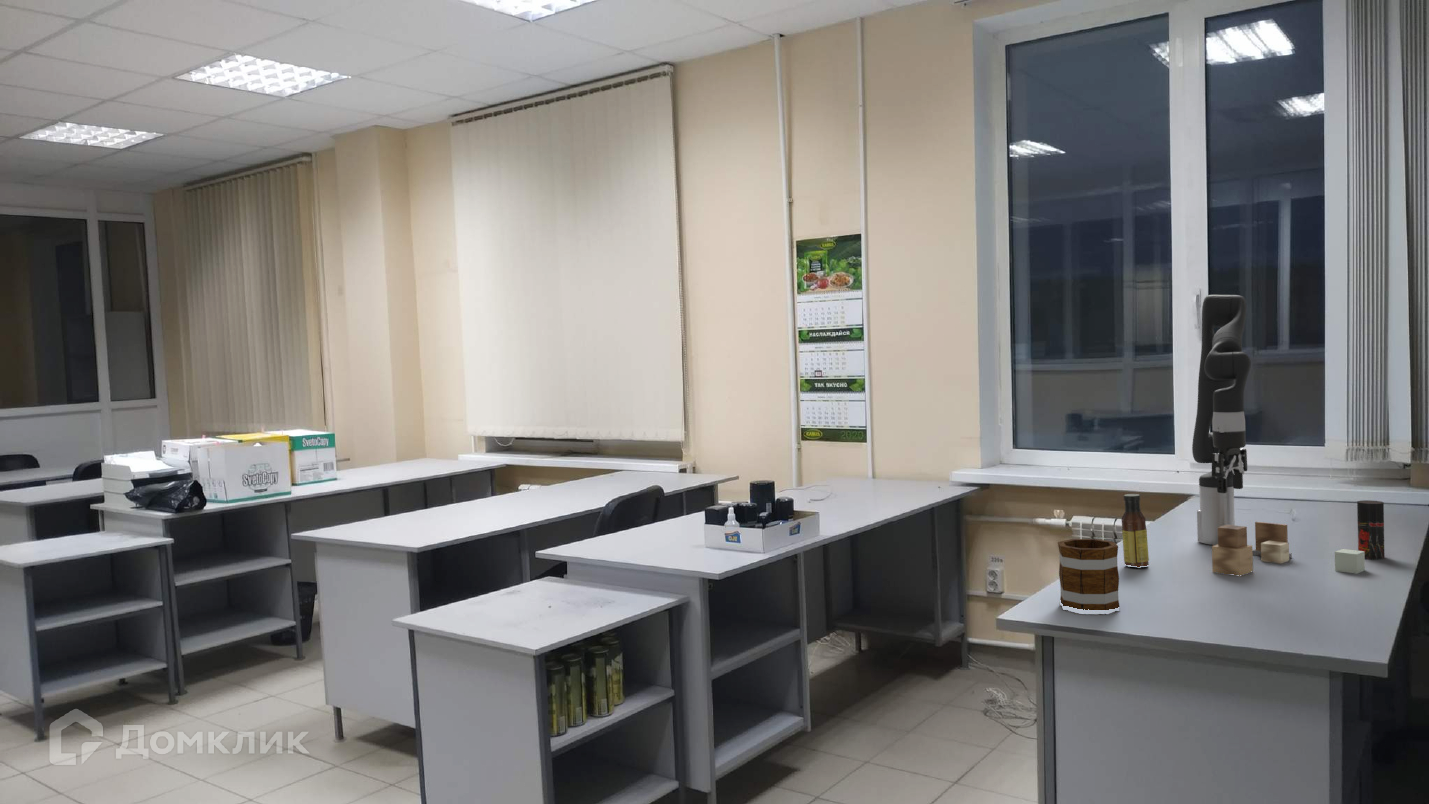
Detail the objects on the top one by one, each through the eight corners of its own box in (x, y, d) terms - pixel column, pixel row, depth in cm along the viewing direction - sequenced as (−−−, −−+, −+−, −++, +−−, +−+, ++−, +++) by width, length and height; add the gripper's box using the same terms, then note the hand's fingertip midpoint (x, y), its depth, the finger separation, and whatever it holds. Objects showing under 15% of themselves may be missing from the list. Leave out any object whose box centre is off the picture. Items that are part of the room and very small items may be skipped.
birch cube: (1261, 561, 260) (1260, 543, 260) (1269, 558, 263) (1269, 540, 263) (1280, 563, 256) (1280, 545, 256) (1289, 560, 259) (1288, 542, 259)
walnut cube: (1218, 546, 249) (1217, 527, 249) (1227, 543, 252) (1227, 524, 252) (1237, 548, 245) (1237, 529, 245) (1247, 545, 248) (1246, 526, 248)
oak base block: (1212, 572, 250) (1211, 546, 250) (1225, 568, 254) (1224, 542, 254) (1240, 576, 244) (1239, 549, 244) (1252, 572, 248) (1252, 545, 248)
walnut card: (1252, 554, 268) (1251, 522, 267) (1257, 553, 269) (1256, 520, 269) (1286, 559, 260) (1286, 525, 260) (1291, 557, 262) (1290, 524, 262)
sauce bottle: (1149, 564, 262) (1147, 493, 261) (1148, 569, 256) (1146, 496, 255) (1123, 563, 264) (1121, 492, 263) (1122, 568, 259) (1120, 496, 258)
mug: (1113, 618, 213) (1111, 551, 212) (1051, 611, 221) (1049, 547, 220) (1132, 597, 229) (1130, 536, 228) (1074, 592, 237) (1072, 532, 236)
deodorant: (1388, 559, 255) (1387, 503, 254) (1364, 559, 256) (1363, 503, 256) (1378, 554, 261) (1377, 500, 260) (1354, 554, 262) (1353, 500, 261)
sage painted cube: (1335, 571, 246) (1334, 551, 245) (1342, 567, 249) (1342, 548, 248) (1357, 573, 242) (1356, 554, 241) (1364, 570, 244) (1364, 551, 244)
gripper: (1227, 426, 255) (1228, 486, 256) (1200, 430, 246) (1202, 493, 247) (1256, 427, 249) (1258, 488, 250) (1230, 431, 240) (1231, 495, 241)
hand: (1230, 490), depth 248 cm, fingers open, 8 cm apart
